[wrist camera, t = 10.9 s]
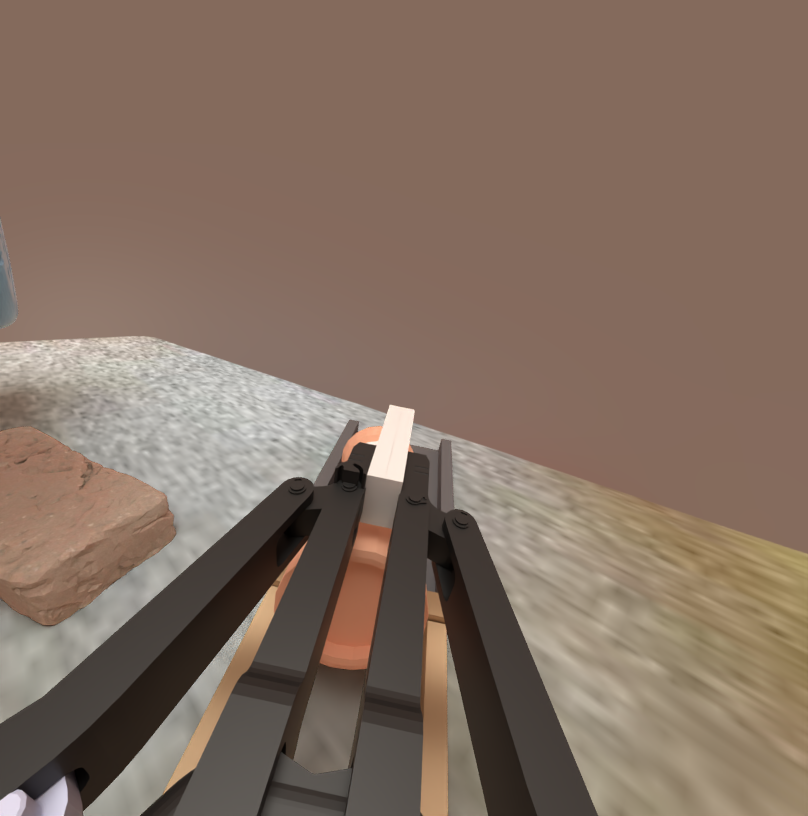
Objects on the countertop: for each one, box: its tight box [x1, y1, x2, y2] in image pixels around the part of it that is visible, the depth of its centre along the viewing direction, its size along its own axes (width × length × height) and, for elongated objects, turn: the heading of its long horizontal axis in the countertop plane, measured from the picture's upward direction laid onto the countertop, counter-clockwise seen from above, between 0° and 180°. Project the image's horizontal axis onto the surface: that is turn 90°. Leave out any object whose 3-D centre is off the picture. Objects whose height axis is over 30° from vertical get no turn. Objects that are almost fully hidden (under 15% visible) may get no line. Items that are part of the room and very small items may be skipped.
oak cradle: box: [163, 564, 448, 816], centre depth 17 cm, size 12×11×3 cm
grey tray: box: [314, 420, 454, 593], centre depth 31 cm, size 20×13×2 cm, turn 174°
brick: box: [0, 426, 176, 625], centre depth 22 cm, size 17×8×5 cm, turn 71°
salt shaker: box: [274, 426, 429, 670], centre depth 24 cm, size 7×7×19 cm
